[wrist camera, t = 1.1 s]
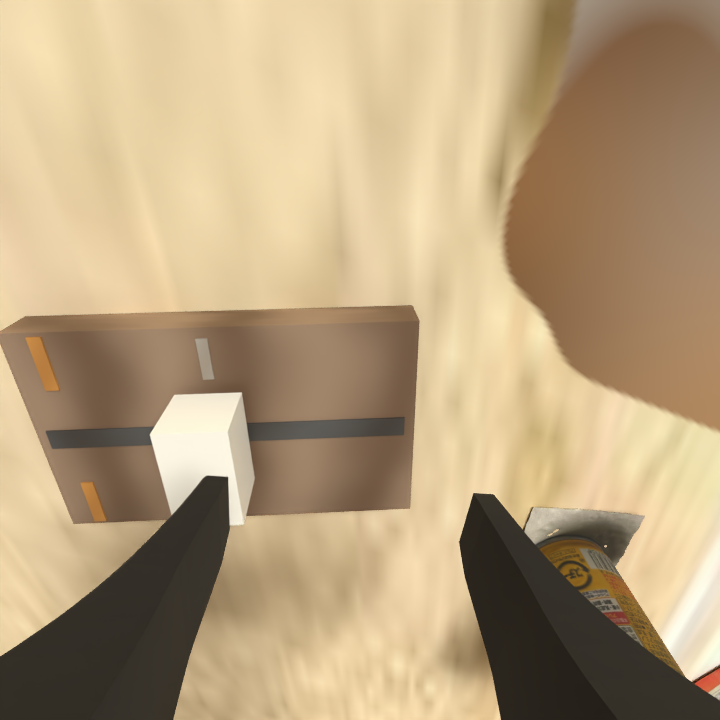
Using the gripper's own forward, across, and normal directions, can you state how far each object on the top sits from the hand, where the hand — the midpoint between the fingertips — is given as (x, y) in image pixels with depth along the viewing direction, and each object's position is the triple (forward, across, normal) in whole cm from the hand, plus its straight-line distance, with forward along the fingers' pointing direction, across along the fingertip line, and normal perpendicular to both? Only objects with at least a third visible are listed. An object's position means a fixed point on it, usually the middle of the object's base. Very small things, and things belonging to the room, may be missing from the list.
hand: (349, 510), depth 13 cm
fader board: (+10, +6, +4) cm, 12 cm away
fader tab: (+8, +6, +4) cm, 10 cm away
